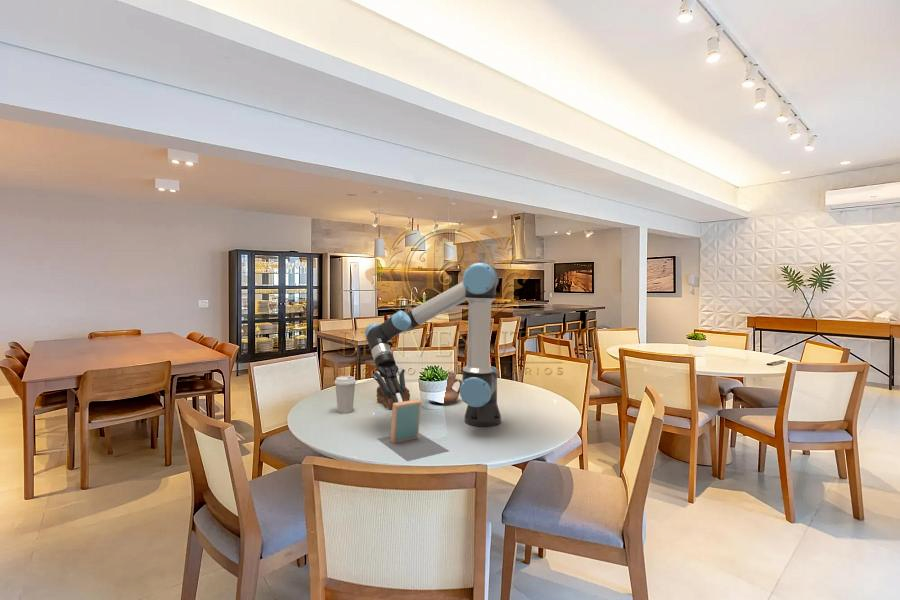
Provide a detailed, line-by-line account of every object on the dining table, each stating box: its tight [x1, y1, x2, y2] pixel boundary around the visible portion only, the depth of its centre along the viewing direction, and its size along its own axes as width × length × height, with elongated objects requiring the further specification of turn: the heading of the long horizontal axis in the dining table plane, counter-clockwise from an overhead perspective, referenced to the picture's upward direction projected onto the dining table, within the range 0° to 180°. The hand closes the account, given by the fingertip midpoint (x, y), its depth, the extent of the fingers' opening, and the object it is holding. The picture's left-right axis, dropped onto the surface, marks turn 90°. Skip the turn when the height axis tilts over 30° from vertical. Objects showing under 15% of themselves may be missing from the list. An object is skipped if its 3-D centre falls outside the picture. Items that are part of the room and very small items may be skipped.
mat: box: [377, 432, 450, 462], centre depth 151 cm, size 24×16×1 cm, turn 33°
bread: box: [376, 383, 411, 410], centre depth 205 cm, size 19×11×10 cm, turn 27°
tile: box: [390, 399, 422, 443], centre depth 154 cm, size 3×10×14 cm, turn 123°
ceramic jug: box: [444, 370, 462, 405], centre depth 209 cm, size 18×14×14 cm
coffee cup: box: [333, 375, 357, 414], centre depth 193 cm, size 10×10×15 cm
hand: (402, 410), depth 156 cm, fingers closed
